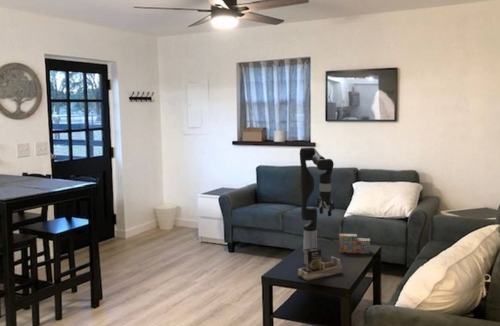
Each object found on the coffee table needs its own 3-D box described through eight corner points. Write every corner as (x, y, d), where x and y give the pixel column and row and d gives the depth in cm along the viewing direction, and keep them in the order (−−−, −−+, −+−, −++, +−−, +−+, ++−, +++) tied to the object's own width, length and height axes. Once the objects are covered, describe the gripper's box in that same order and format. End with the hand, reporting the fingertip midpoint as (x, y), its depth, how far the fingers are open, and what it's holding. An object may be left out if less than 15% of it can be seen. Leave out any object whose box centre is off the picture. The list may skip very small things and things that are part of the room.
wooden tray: (297, 275, 290) (297, 263, 289) (331, 267, 302) (331, 255, 301) (307, 280, 281) (307, 267, 280) (341, 272, 293) (341, 260, 292)
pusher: (315, 271, 294) (315, 260, 293) (317, 270, 295) (317, 259, 294) (322, 274, 288) (322, 263, 287) (324, 274, 288) (324, 263, 287)
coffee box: (308, 277, 283) (308, 251, 282) (303, 274, 289) (303, 248, 287) (321, 275, 287) (321, 249, 285) (316, 272, 293) (316, 246, 291)
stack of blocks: (370, 251, 335) (370, 234, 334) (370, 253, 329) (370, 236, 328) (339, 249, 340) (339, 233, 339) (339, 252, 334) (339, 235, 333)
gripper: (313, 189, 304) (314, 213, 306) (327, 192, 291) (327, 217, 293) (323, 188, 307) (323, 212, 309) (337, 191, 295) (337, 216, 297)
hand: (325, 214), depth 301 cm, fingers open, 8 cm apart
